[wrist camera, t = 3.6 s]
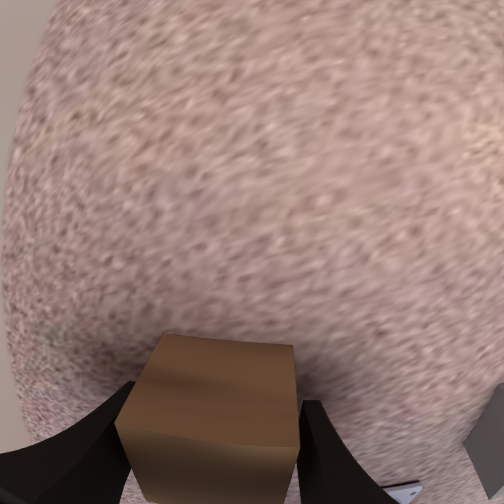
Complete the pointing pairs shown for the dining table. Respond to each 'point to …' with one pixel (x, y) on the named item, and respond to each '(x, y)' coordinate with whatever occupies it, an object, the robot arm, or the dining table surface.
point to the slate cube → (489, 445)
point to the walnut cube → (213, 422)
